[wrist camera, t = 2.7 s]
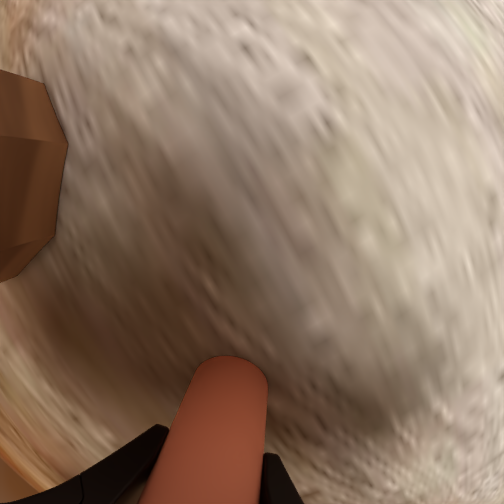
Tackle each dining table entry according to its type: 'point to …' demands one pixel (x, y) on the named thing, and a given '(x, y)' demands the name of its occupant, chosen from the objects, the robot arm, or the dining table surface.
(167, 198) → the dining table surface
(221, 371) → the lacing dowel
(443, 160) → the dining table surface
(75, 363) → the dining table surface
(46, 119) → the walnut bead
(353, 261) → the dining table surface
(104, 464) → the robot arm
